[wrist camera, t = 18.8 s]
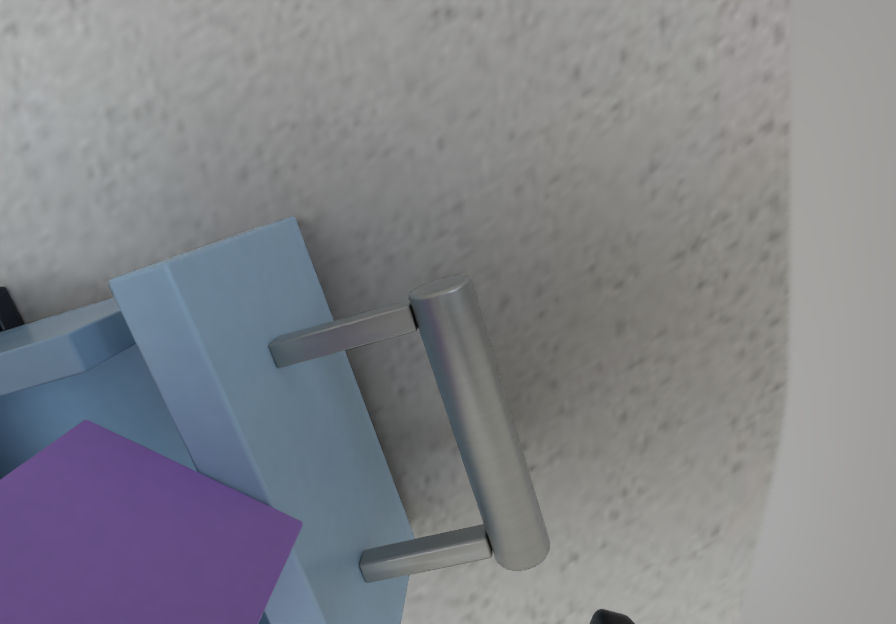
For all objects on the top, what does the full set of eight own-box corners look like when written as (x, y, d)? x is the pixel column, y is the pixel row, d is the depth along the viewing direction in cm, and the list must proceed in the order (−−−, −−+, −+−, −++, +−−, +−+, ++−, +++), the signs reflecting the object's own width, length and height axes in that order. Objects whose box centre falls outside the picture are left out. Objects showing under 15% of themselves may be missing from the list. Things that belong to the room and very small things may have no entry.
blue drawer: (452, 166, 15) (426, 181, 9) (552, 510, 18) (589, 713, 12) (-89, 335, 18) (-416, 442, 11) (74, 613, 21) (-113, 825, 14)
